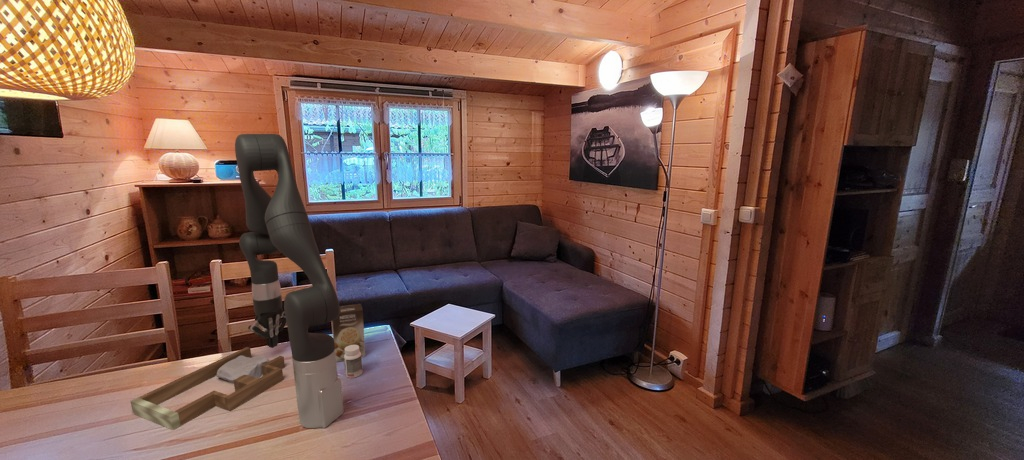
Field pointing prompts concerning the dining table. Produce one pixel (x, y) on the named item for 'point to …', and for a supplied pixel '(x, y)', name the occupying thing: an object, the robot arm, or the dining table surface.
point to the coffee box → (348, 330)
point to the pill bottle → (353, 361)
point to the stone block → (242, 368)
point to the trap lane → (243, 392)
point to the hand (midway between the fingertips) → (273, 346)
